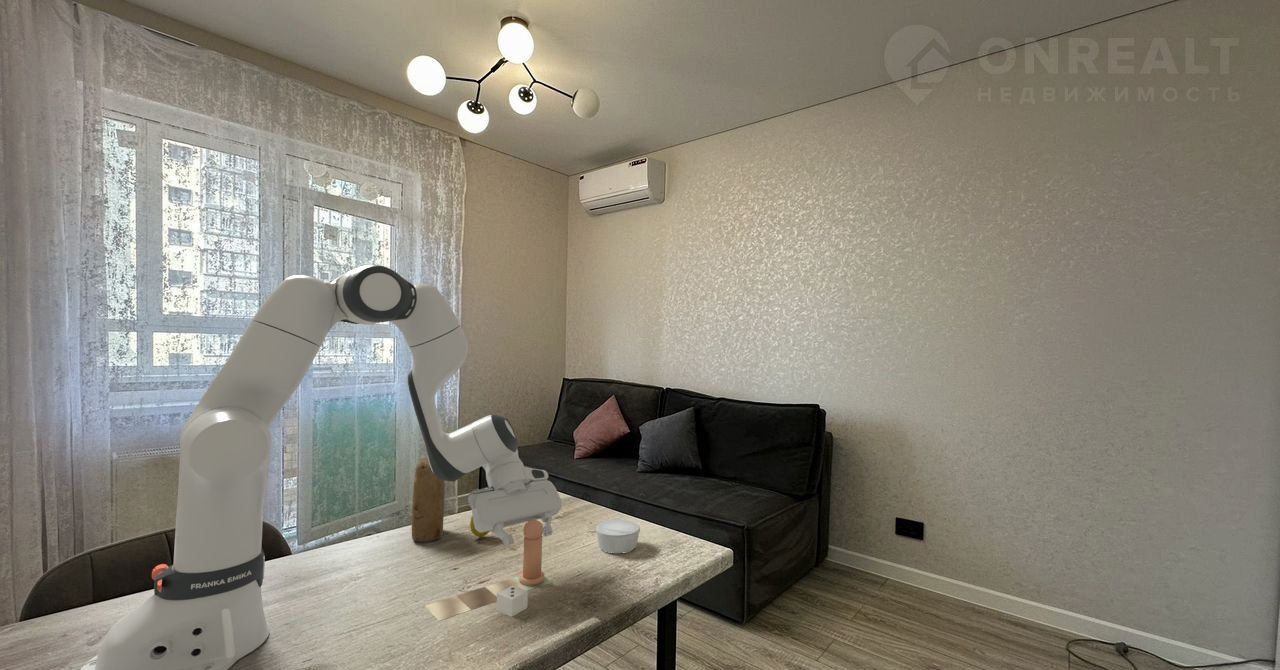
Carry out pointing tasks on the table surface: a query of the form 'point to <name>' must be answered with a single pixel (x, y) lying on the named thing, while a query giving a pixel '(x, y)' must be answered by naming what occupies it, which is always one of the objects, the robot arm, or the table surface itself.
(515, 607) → the die
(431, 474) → the block
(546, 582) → the board
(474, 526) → the lemon
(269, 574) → the table surface
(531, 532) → the round-topped peg
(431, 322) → the robot arm
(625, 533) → the ramekin
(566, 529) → the table surface
